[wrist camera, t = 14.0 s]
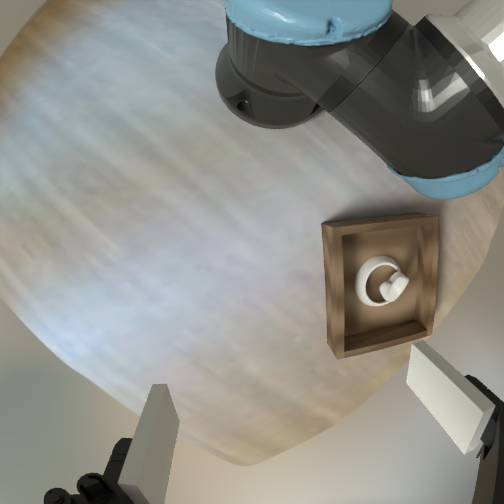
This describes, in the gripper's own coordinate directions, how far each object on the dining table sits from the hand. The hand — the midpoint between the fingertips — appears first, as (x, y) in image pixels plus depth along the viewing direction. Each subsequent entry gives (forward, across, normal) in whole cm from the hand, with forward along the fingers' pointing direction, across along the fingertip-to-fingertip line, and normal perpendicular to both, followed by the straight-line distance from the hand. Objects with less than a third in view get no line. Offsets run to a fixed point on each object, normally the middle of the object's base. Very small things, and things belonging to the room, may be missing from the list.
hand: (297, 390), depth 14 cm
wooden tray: (+27, +17, -4) cm, 32 cm away
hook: (+26, +17, -5) cm, 31 cm away
